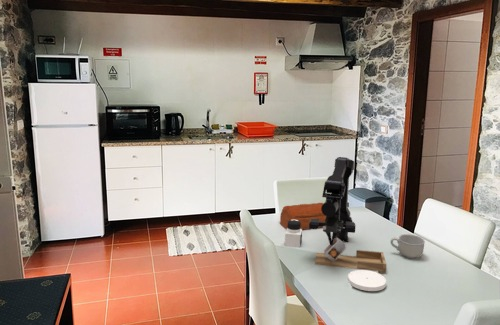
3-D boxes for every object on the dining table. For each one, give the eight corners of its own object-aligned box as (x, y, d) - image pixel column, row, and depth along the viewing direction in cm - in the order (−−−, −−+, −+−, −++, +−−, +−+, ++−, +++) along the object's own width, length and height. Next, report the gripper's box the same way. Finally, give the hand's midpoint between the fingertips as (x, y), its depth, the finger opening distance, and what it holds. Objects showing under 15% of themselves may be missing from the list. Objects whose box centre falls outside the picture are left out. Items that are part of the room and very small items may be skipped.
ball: (327, 251, 177) (334, 247, 176) (331, 256, 177) (337, 253, 176) (328, 253, 174) (334, 250, 173) (331, 259, 174) (338, 256, 173)
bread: (336, 227, 217) (337, 208, 215) (288, 232, 209) (289, 212, 207) (322, 217, 232) (323, 199, 229) (277, 222, 224) (278, 203, 222)
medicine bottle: (300, 249, 189) (301, 224, 186) (284, 247, 190) (285, 222, 188) (301, 243, 195) (302, 219, 193) (286, 241, 197) (287, 217, 194)
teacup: (423, 253, 186) (425, 236, 184) (422, 262, 176) (424, 245, 174) (391, 247, 191) (392, 231, 190) (388, 256, 182) (389, 239, 180)
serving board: (316, 254, 183) (316, 246, 182) (382, 261, 177) (383, 252, 176) (314, 266, 171) (315, 257, 171) (385, 273, 166) (386, 264, 165)
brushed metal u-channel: (324, 250, 178) (336, 237, 176) (333, 257, 178) (345, 244, 176) (324, 254, 173) (336, 241, 171) (333, 262, 173) (346, 249, 171)
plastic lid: (367, 272, 167) (367, 267, 167) (393, 288, 155) (394, 282, 154) (339, 280, 161) (340, 274, 160) (365, 297, 149) (365, 290, 148)
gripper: (308, 213, 165) (307, 250, 168) (357, 217, 162) (354, 254, 165) (310, 205, 176) (309, 239, 179) (356, 208, 172) (353, 244, 175)
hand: (330, 244), depth 174 cm, fingers closed
